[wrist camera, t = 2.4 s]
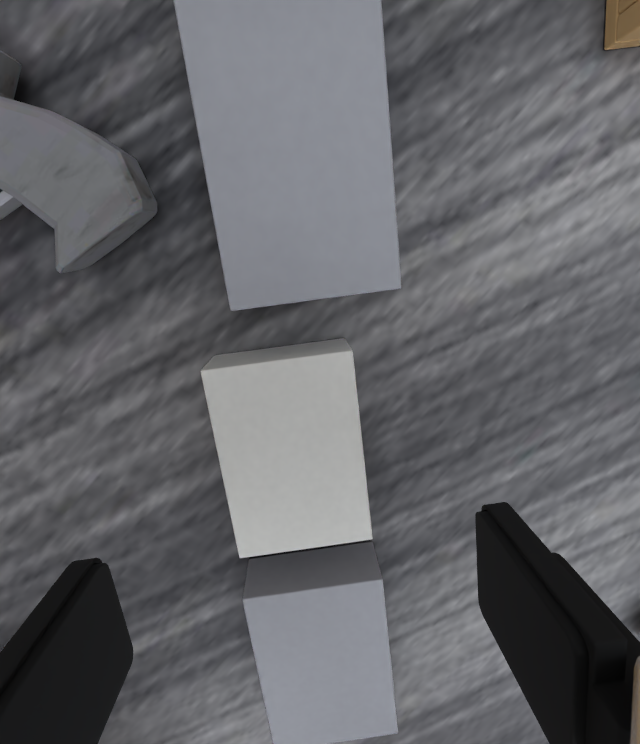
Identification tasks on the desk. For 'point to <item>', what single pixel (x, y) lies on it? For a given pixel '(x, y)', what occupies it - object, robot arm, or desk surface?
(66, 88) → the desk surface
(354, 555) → the grey rectangular block
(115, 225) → the toy gun
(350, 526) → the white book
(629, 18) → the tray
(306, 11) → the grey rectangular slab
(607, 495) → the desk surface
